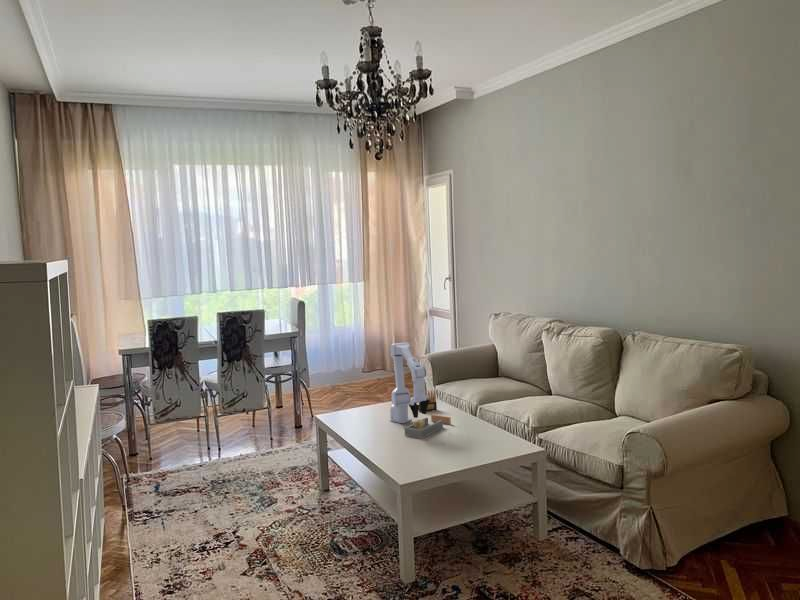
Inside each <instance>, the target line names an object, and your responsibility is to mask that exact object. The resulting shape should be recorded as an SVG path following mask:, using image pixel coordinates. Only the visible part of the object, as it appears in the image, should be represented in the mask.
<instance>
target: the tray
mask: <svg viewBox="0 0 800 600" xmlns="http://www.w3.org/2000/svg"><path fill="white" fill-rule="evenodd" d="M421 420H424V421H425V428H424V429H422V430H419V429H414V423H411V424H409V425H408V426H406V427H404V436H406V437H411V436H412V438H416V437H417V438H418V439H424V438H426V437H428V436H430V435H431V433H432V434H433V433H435V432H437V431H439V430H441V429H443V428H444V423H443V420H440V421H438V422H434V423H432V424H431V423H429V417H424V418H422V419H421Z"/></svg>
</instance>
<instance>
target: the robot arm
mask: <svg viewBox="0 0 800 600" xmlns="http://www.w3.org/2000/svg"><path fill="white" fill-rule="evenodd" d="M389 350H390V351H389V352H390V357H391V359H393V366H394V367H393V368H394V376H395V377H394V378H395V379H394V380H395V388H394V389H393V390H392V391H391V396H390V397H391V399H390V400H391V404H392V405H391V406H390V414H389V415H390V419H389V422H394V423H400V424H405V423H408V422H409V421H412V418H409V408H410V411H411V413H412V416H413V418H415V419H418V417H419V406H420V405H421V412H420V413H421V414H422V415H426V414H427V412H428V411H427V407H428V404H429V402H430V400H427V399H429V395H428V394H427V395H425V391H426V390H425V389H426V388H425V387H426V386H425V378H426V376H427V370H426V366H424V365H421V364H420V362H419V360H418V359H417V358H416V357H414V356H413V354H412V352H411V345H410V343H409V342H408V341H406V342H396V343H391V344H390V347H389ZM404 359H405V360H406V366H407V367H408V368H409V371H410V374H411V380H412V383H413V398H412V397H411V393H410V390H409V389H408V388H407V387H406V386H405V385H406V384H405V382H406V381H405V372H404V361H403V360H404ZM419 402H420V405H419Z"/></svg>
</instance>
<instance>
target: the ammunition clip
mask: <svg viewBox="0 0 800 600" xmlns="http://www.w3.org/2000/svg"><path fill="white" fill-rule="evenodd" d="M425 395H429V399H427V400H430V402H429V404H428V407H427V411H426V412H432V410H435V411H437V410H438V408H437V407H438V406H437V395H436V390H435V389H434V390H430V391H429V390H428V392H427V390H425ZM418 405H420V402H418ZM418 413H422V412H421V405H420V406H419V410H418Z"/></svg>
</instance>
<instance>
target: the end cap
mask: <svg viewBox="0 0 800 600" xmlns="http://www.w3.org/2000/svg"><path fill="white" fill-rule="evenodd" d="M430 416H431V417H430V419H431V421H430V422H434V423H436V422H438V421H440V420H443V424H448V425H451V424H452V421H451V416H448V415H441V414H431V415H430Z"/></svg>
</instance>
